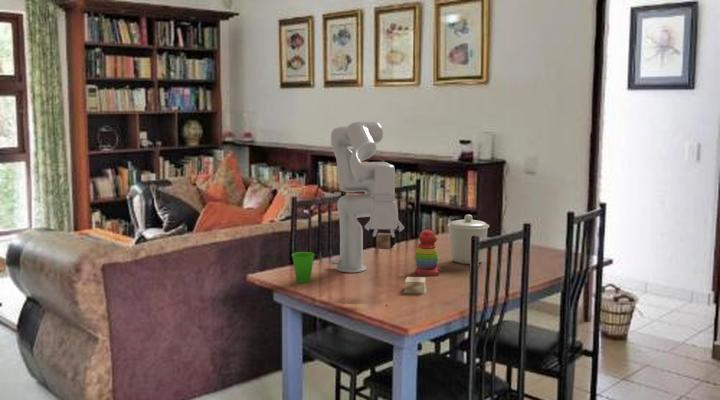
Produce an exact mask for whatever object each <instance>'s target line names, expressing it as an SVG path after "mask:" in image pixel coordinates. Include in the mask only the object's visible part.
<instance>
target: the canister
mask: <svg viewBox="0 0 720 400" xmlns="http://www.w3.org/2000/svg"><path fill="white" fill-rule="evenodd" d="M463 218H464V219H457V220H452V221H451V222H449V223H448V224H447V227H448V231H449V242H450V253H451V258H452V259H453V261H454V262H456V263H458V264H462V265H471V264H470V249H471V237H472V236H473V235H476V236H479V237H483V238H486V239H487V237H488V229H489V228H490V224H488V223H487V222H485V221H483V220H479V219H478V220H477V219H473V215H471V214H465V216H464V217H463ZM485 251H486V250H481V251H480V253H479V263H481V262H482V261H483V260H484V257H485ZM479 263H478V264H479Z"/></svg>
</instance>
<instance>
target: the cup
mask: <svg viewBox="0 0 720 400" xmlns="http://www.w3.org/2000/svg"><path fill="white" fill-rule="evenodd" d="M315 255H316V254H315V253H314V252H308V251H299V252H298V251H297V252H293V253H292V254H291V256H292V262H293V268H294V273H295V278H296V279H295V280H296V283H297V284H308V283H310V282H311V278H312V270H313V265H314V264H313V263H314V257H315Z"/></svg>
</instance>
